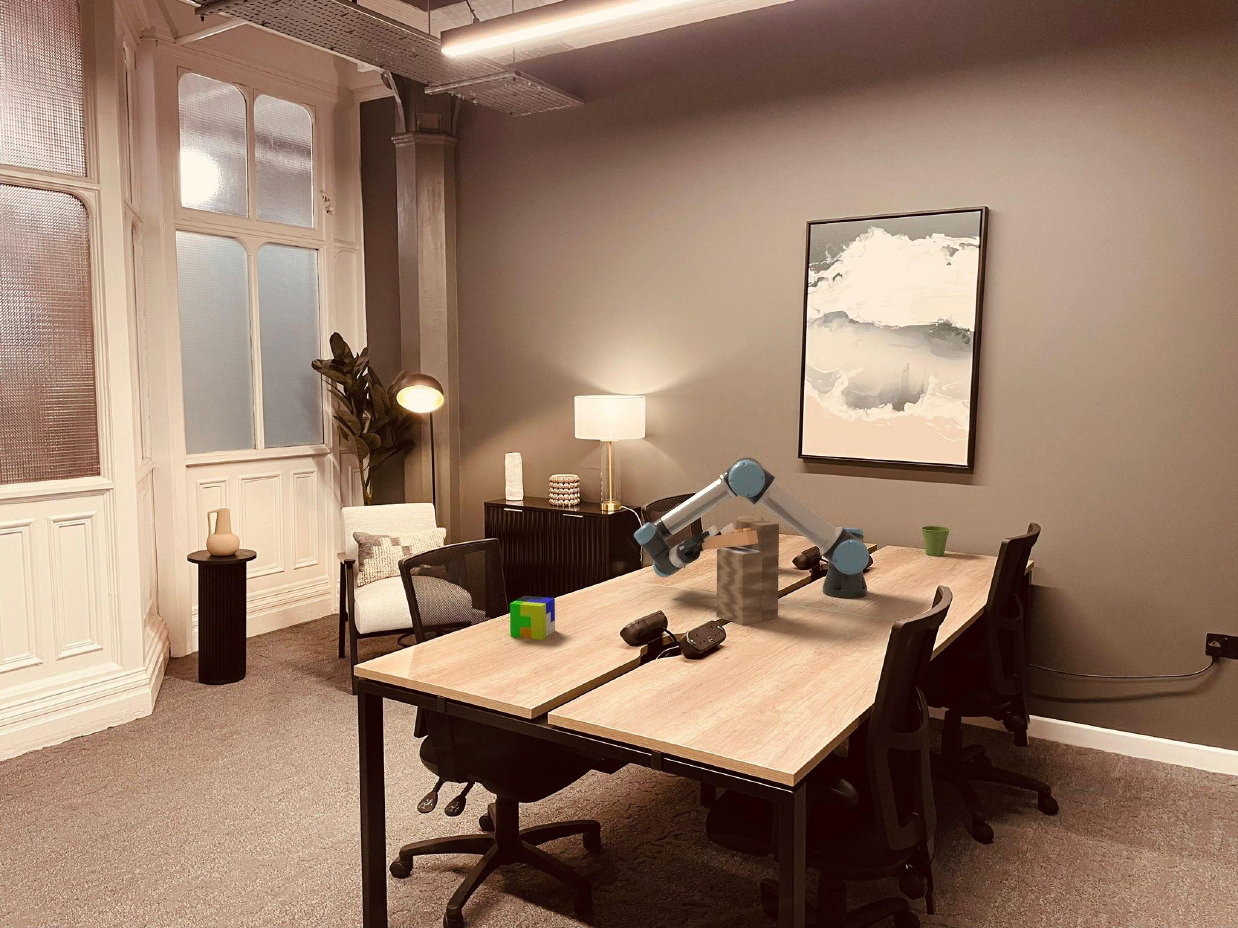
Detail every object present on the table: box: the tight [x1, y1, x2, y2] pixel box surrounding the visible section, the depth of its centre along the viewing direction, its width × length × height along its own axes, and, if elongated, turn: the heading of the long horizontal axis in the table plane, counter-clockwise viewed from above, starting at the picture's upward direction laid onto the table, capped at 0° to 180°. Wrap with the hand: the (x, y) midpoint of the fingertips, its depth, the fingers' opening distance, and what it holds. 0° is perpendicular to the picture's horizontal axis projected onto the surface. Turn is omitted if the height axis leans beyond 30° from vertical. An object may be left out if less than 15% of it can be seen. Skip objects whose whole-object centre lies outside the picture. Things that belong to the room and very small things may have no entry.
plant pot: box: [920, 525, 951, 557], centre depth 387 cm, size 12×12×11 cm
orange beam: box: [702, 528, 758, 551], centre depth 292 cm, size 22×4×5 cm, turn 35°
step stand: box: [716, 518, 780, 626], centre depth 291 cm, size 12×15×30 cm
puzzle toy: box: [509, 595, 556, 641], centre depth 275 cm, size 10×10×10 cm
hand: (725, 527), depth 293 cm, fingers open, 7 cm apart
